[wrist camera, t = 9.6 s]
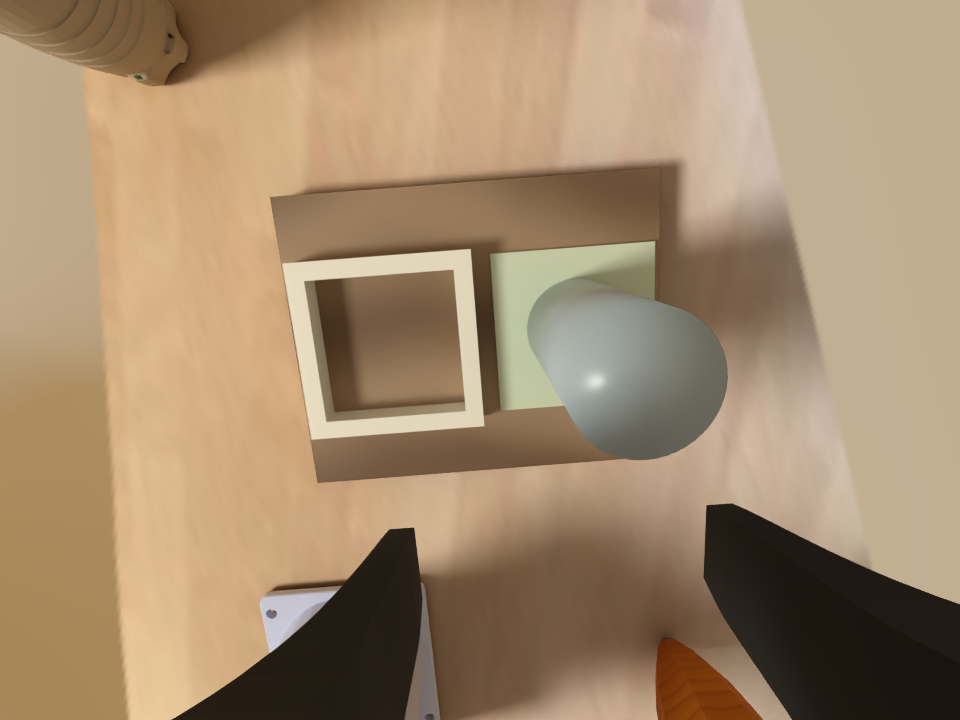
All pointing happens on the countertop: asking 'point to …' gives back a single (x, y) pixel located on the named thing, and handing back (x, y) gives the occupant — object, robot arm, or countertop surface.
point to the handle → (101, 34)
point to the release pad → (521, 286)
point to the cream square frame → (314, 356)
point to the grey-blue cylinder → (628, 367)
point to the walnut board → (446, 308)
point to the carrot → (695, 688)
